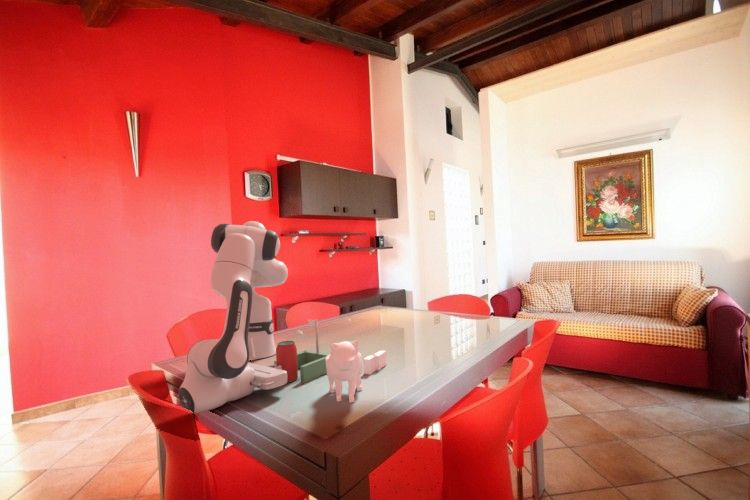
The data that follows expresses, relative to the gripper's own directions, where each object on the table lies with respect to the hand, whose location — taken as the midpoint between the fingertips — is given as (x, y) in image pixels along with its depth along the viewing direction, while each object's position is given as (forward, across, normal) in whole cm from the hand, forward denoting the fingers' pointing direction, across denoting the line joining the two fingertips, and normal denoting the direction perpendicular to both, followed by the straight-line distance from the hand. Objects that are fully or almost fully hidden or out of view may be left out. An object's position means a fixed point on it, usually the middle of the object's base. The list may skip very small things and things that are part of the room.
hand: (278, 367), depth 114 cm
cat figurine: (+3, -25, +5) cm, 25 cm away
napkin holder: (+25, -19, +6) cm, 32 cm away
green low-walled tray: (+10, 0, +5) cm, 11 cm away
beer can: (+3, 0, +5) cm, 6 cm away
